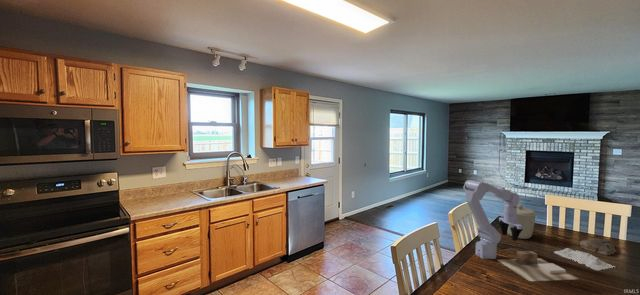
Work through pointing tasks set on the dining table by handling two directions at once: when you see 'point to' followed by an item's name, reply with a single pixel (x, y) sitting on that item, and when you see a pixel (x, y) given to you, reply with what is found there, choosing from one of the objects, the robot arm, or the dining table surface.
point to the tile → (551, 268)
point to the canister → (524, 222)
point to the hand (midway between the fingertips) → (509, 237)
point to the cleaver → (560, 236)
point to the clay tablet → (598, 246)
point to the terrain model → (584, 259)
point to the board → (534, 271)
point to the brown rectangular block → (526, 257)
